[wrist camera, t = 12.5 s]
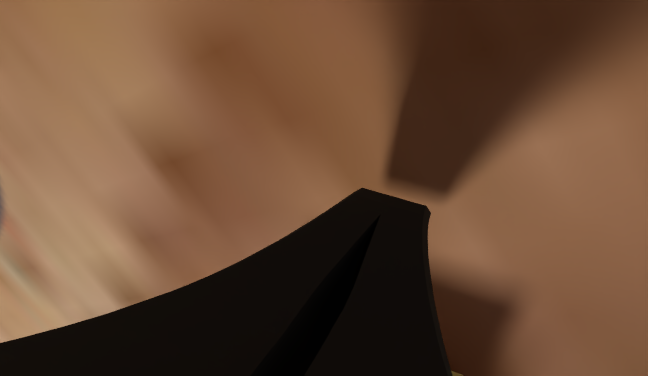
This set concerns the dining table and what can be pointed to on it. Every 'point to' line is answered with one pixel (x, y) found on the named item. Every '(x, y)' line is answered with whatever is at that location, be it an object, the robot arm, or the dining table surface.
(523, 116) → the dining table surface
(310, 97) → the dining table surface
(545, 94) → the dining table surface
